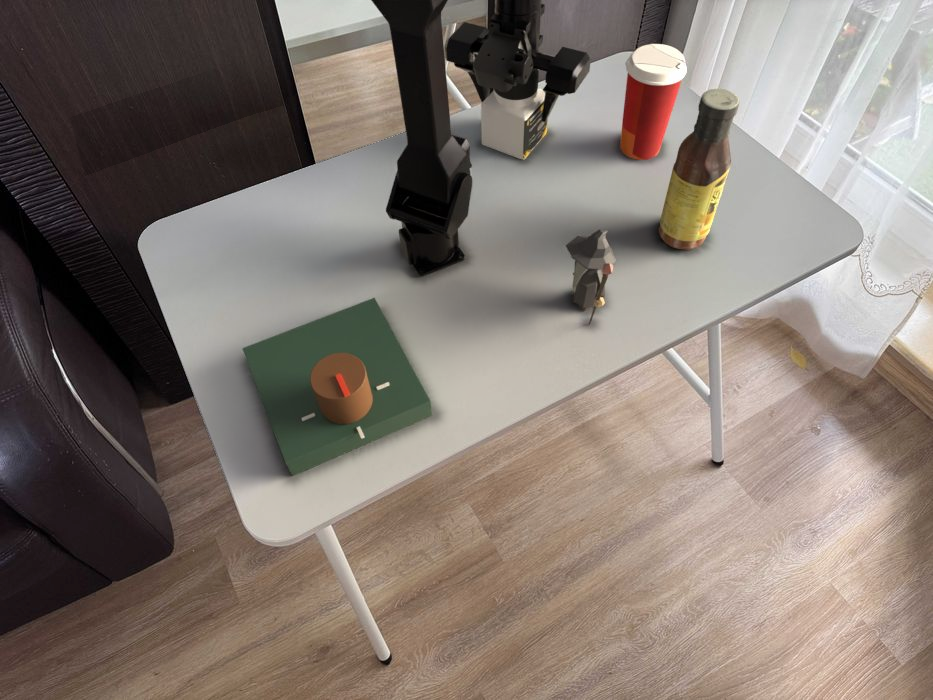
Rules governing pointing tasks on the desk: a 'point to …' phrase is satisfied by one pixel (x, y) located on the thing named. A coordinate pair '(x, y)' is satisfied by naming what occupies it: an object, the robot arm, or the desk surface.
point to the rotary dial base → (294, 403)
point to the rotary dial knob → (341, 388)
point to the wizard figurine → (590, 269)
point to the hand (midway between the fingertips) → (514, 111)
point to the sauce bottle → (699, 173)
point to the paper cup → (650, 98)
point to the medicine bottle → (514, 118)
